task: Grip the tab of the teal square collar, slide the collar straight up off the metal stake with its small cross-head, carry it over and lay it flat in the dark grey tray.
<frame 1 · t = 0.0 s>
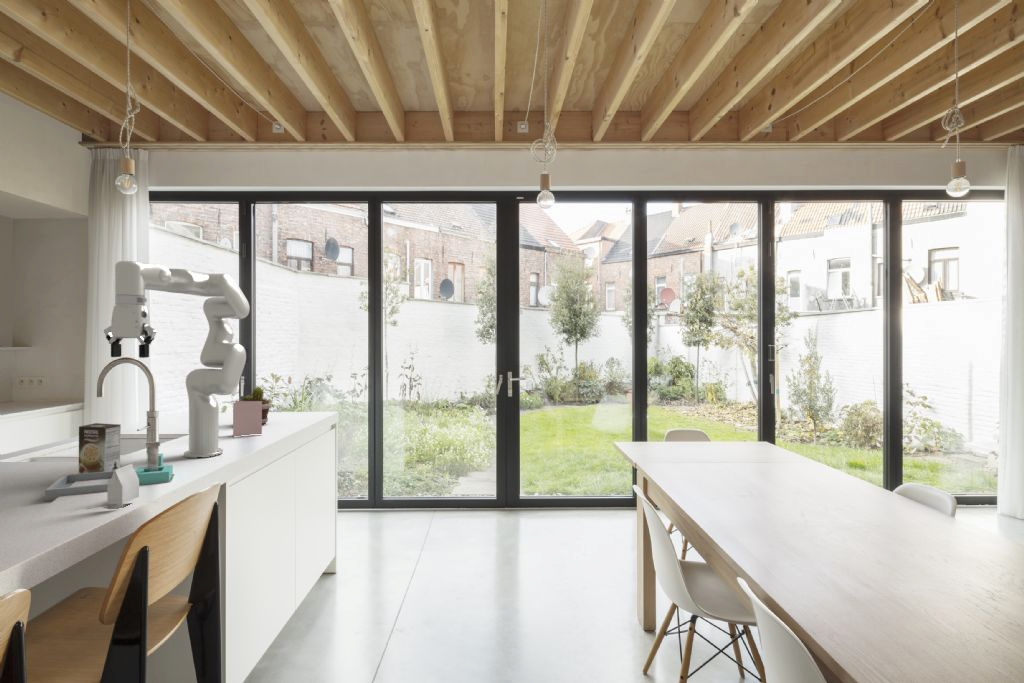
hand: (130, 357, 169), 37 cm above the table, tool pointing down, fingers open, 9 cm apart
coffee box: (99, 477, 170), on the table
greeting card: (245, 436, 238), on the table
tray: (86, 489, 156), on the table
stake: (153, 483, 163), on the table
collar: (153, 479, 163), point 1 cm above the table, touching stake
flowerpot: (254, 425, 266), on the table
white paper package: (123, 505, 143), on the table
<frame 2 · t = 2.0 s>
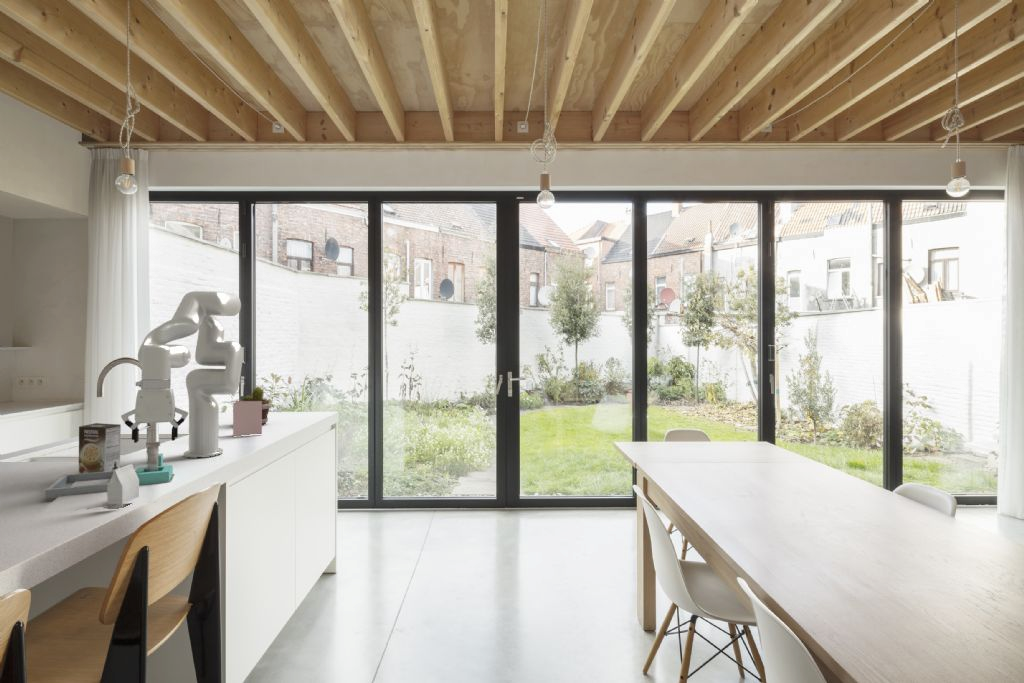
hand: (155, 441, 168), 12 cm above the table, tool pointing down, fingers open, 9 cm apart
nothing on the table moved.
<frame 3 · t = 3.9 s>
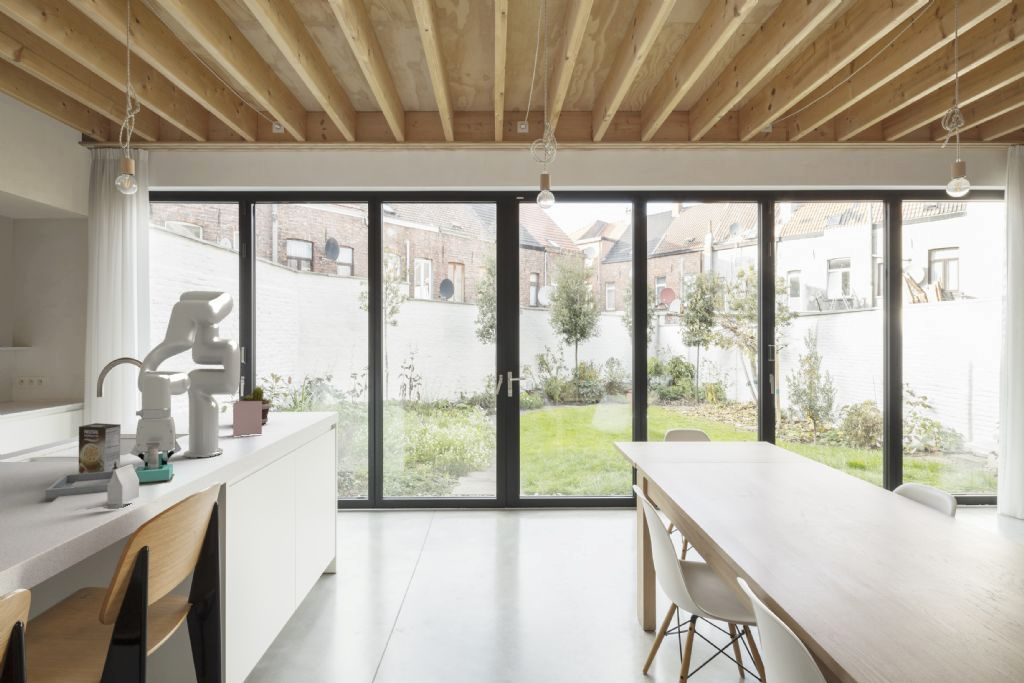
hand: (156, 473, 169), 2 cm above the table, tool pointing down, fingers closed on collar, 3 cm apart
collar: (153, 478, 163), point 2 cm above the table, touching gripper
everything else where it was.
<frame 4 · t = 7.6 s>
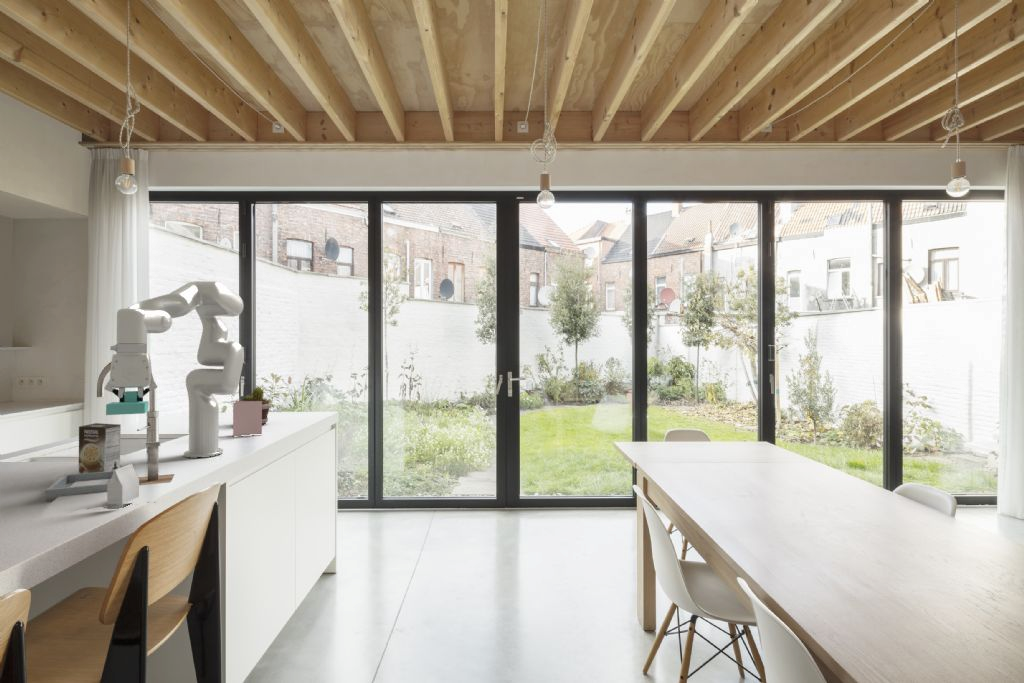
hand: (131, 410, 165), 22 cm above the table, tool pointing down, fingers closed on collar, 3 cm apart
collar: (128, 413, 159), point 22 cm above the table, touching gripper
everything else where it was.
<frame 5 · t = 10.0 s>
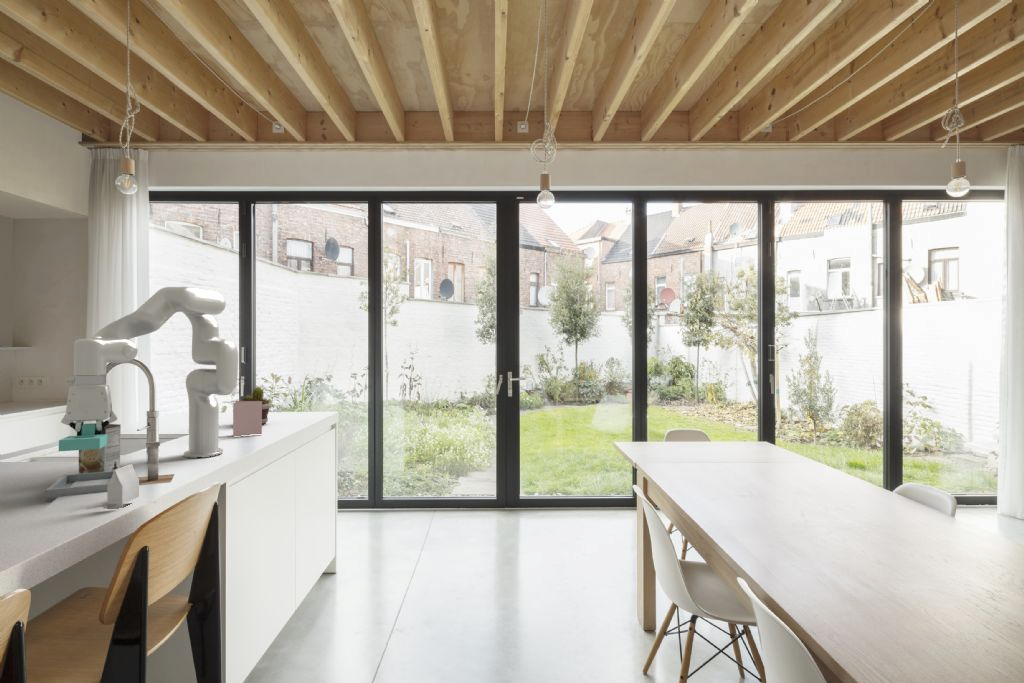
hand: (89, 443, 159), 12 cm above the table, tool pointing down, fingers closed on collar, 3 cm apart
collar: (83, 447, 154), point 12 cm above the table, touching gripper
everything else where it was.
when the fingers open (3 cm above the table, at t = 11.9 s): collar drops 1 cm, resting on tray.
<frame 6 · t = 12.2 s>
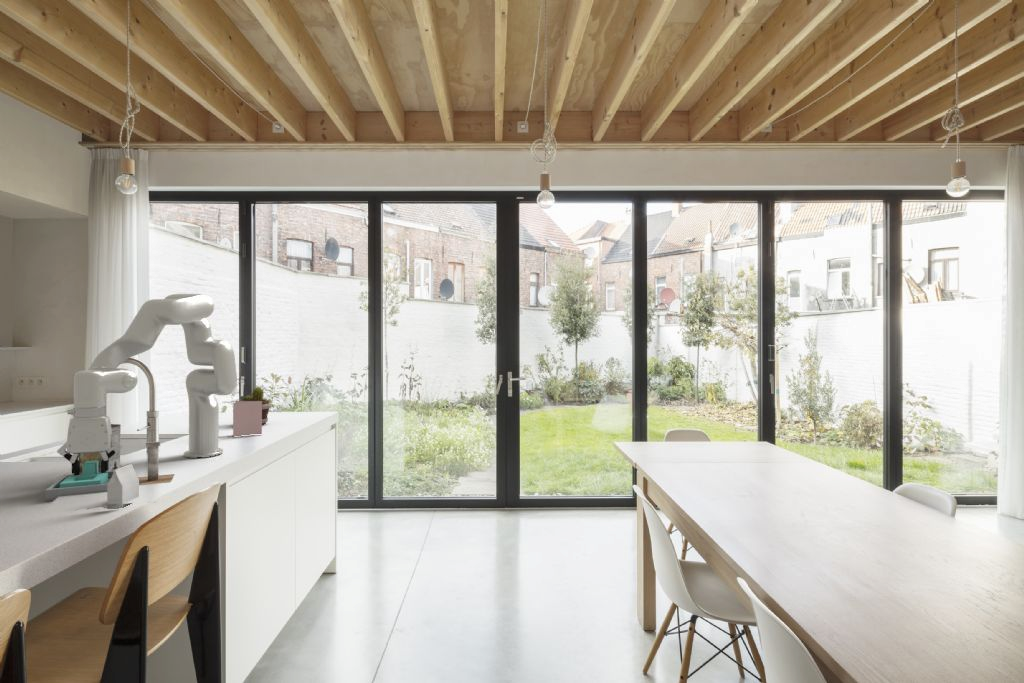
hand: (90, 473, 160), 4 cm above the table, tool pointing down, fingers open, 5 cm apart
collar: (84, 488, 154), point 1 cm above the table, touching tray
everything else where it was.
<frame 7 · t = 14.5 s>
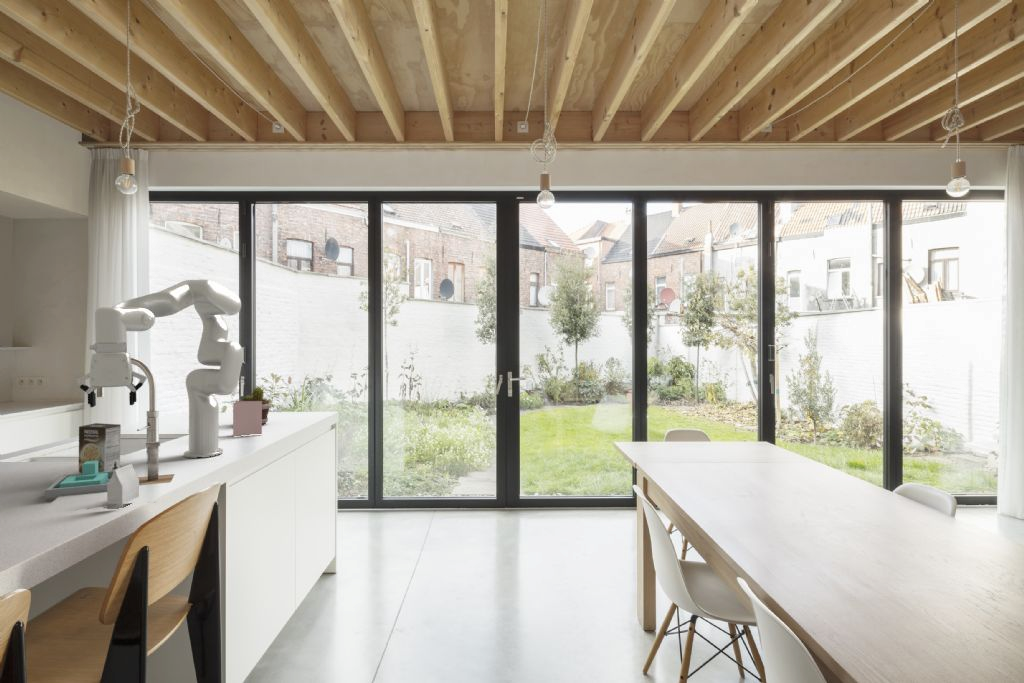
hand: (112, 405, 164), 23 cm above the table, tool pointing down, fingers open, 9 cm apart
nothing on the table moved.
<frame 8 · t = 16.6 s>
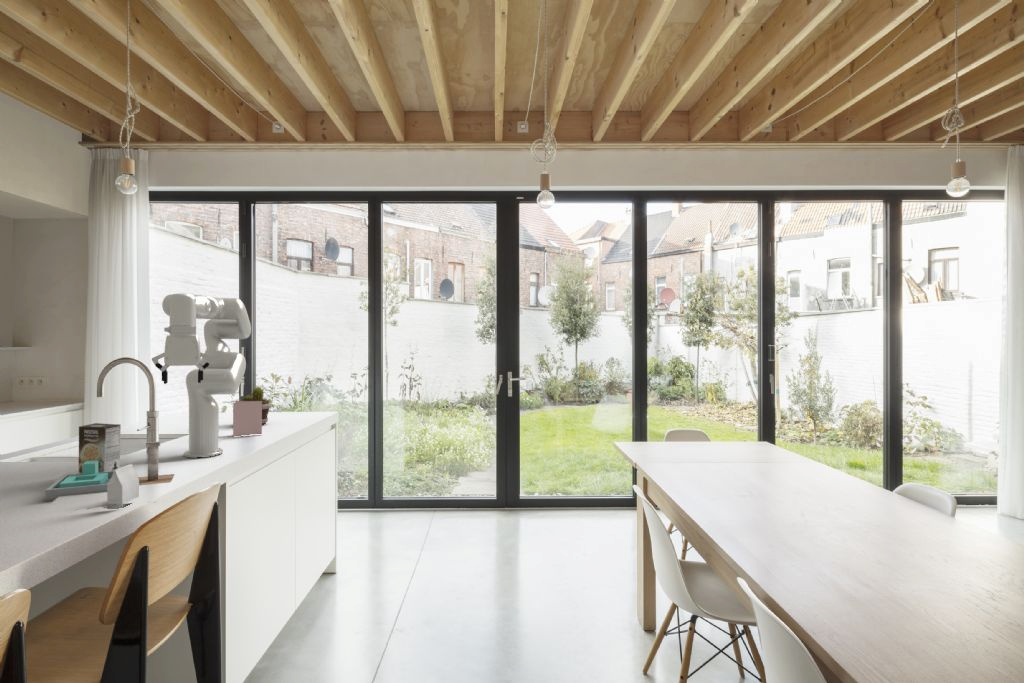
hand: (182, 382, 181), 28 cm above the table, tool pointing down, fingers open, 9 cm apart
nothing on the table moved.
at the end: collar inside the target area on the tray (0.9 cm from its centre), point 0.8 cm above the tray's base; collar tilted 0°; collar touching tray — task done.
